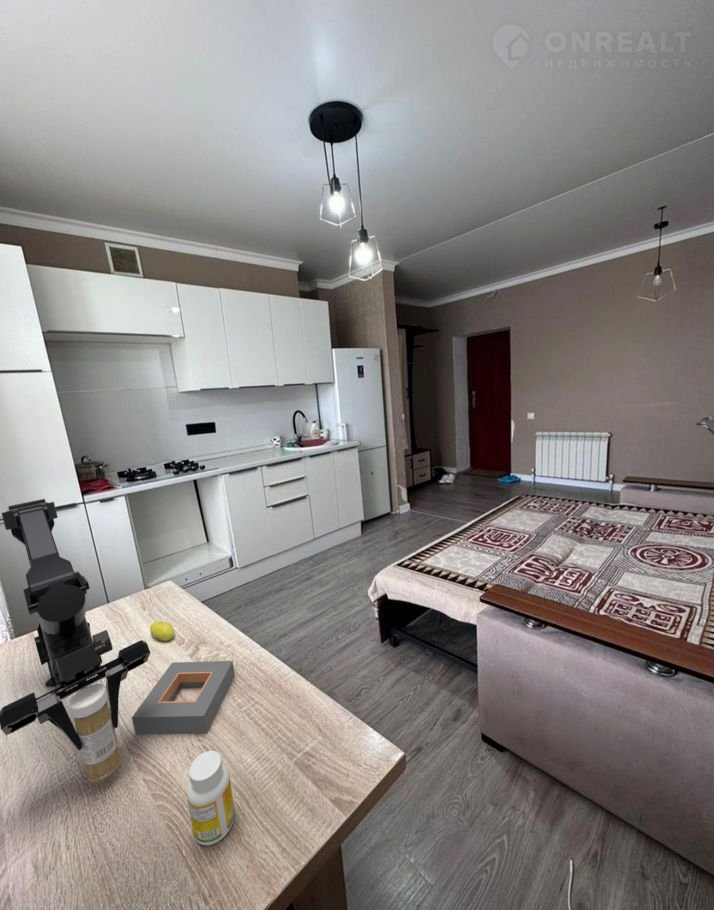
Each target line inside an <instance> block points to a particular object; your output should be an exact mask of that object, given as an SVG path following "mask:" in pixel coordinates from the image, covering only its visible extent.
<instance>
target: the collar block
mask: <svg viewBox="0 0 714 910" xmlns="http://www.w3.org/2000/svg"><path fill="white" fill-rule="evenodd" d="M235 676H236V673H235V667H234V662H233V660H216V661H214V660H213V661H212V660H211V661H209V660H208V661H178V662H177V661H176V662H174V661H173V662H171V664H170V665H169V666H168V668H167V669H166V670H165V672H164V673H163V674H162V676H161V677H160V678H159V680H158V681H156V682H157V683H156V684H155V685H154V687H153V688H152V689H151V690H150V692H149V693H148V695H147V696H146V697H145V699H144V700H143V702H142V703H141V704H140V705H139V706H138V708H137V710H136V711H135V712H134V714H133V715H132V716H131V719H132V725H133V728H134V735H159V734H160V735H163V734H166V735H168V734H169V735H170V734H171V735H172V734H175V735H176V734H177V735H178V734H208V732H209V729H210V727H211V725H212V723H213V721H214V719H215V717H216V715H217V713H218V711H219V709H220V708H221V705H222V703H223V701H224V699H225V696H226V695H227V692H228V691H229V689H230V687H231V685H232V683H233V681H234V679H233V678H235ZM185 688H186V689H187V688H189V689H190V688H193V689H194V688H201V689H200V691H199V692H198V694H197V696H196V697H195V700H174V699H175V698H176V697H177V695H178V693H179V692H180V690H181V689H185Z"/></svg>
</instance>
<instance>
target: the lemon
mask: <svg viewBox="0 0 714 910" xmlns="http://www.w3.org/2000/svg"><path fill="white" fill-rule="evenodd" d="M149 630H150V634H151V636H152V637H154V638H156V639H158V640H162V641H164V642H165V641H167V642H168V641H170V640H172V638H173V637H174V635H175V630H174V626H173V624H172V623H170V622H168V621H163V620H156V621H154V622H152V623H151V624H150V627H149Z"/></svg>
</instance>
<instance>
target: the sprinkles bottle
mask: <svg viewBox="0 0 714 910" xmlns="http://www.w3.org/2000/svg"><path fill="white" fill-rule="evenodd" d="M68 707H69V711H70V716H71V717H72V718H73V721H74V724H75V725H74V726H75V730H76V732H77V735H78V737H79V740H80V743H81V747H82V749H81V750H80V752H81V755H82V760H83V762H84V765H85V770H86V777H87V780H88V781H89V782H91V783H97V782H101V781H104V780H106V779H108V778H109V777H111V776H112V775H113V774H114V773H115V771H117V770H118V768H119V767H120V764H121V763H122V754H120V749H119V746H118V738H117V733H116V729H115V728H114V725H113V722H112V718H111V713H110V708H109V702H108V694H107V690H106V685H104V684H102V683H93V684H91V685H89V686H87V687H85V688H83V689H81V690H79V691H78V692H76V693H74V695H73V697H71V698H70V700H69V704H68Z"/></svg>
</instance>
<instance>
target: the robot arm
mask: <svg viewBox="0 0 714 910" xmlns="http://www.w3.org/2000/svg"><path fill="white" fill-rule="evenodd" d="M45 499H46V498H42V499H37V500H31V501H28V502H22V503H16V504H13V505H8V506H7V507H8V508H7V509H8V510H6V511H4V512H1V517H2V521H3V524H4V528H5V531H9V530H10V532H11V536H12V537H13V538H14V539H15V540H17V541H18V542H20V543H21V544H22V545H24V547H25V551H26V554H27V557H28V558H27V559H28V561H29V566H30V568H29V569H28V571H27V572H26V574H25V579H26V582H27V586H28V587H27V588H24V589H22V590H23V595H24V599H25V603H26V605H27V611H28V613H29V615H32V614H35V613H37V615H38V619H39V620H38V623H37V625H36V631H37V632H36V633H37V635H38V636H35V637H33V639H34V643H35V647H36V650H37V654H38V657H39V662H40V665H41V666H43V665H45V664H47V667H48V671H49V676H50V678H49V679H48V680H47V681H45V683H44V686H45V687H56V688H54V689H52V690H50V691H48V692H46V693H44V694H42V695H39V696H38V697H36V694H35V692H31V693H29V694H27V695H25V696H23V697H21V698H18V699H17V700H14V701H12V702H11V703H8V704H7V705H4V706H3V707H2V708H0V730H1V731H2V732H3V734H5V736H8V735H10V734H13V733H15V732H17V731H19V730H20V729H23V728H24V727H26V726H28V725H31V724H32V723H34V722H35V721H36V720H37V721H38V723H39V724H40V725H43V724H44V723H46V722H50V723H51V724H52V725H54V726H55V727H57V729H59V730H60V731H61V732H62V733H63V734H64V735H65V736H66V738H67V739H68V740H69V741H70V742H71V744H73V746H74V747H75V749H77V751H79V752H81V749H82V747H81V743H80V740H79V737H78V735H77V729H76V727H74V726H75V725H74V724H73V722H72V719H70V716H69V714H68V712H67V710H66V708H65V706H64V702H63V701H62V700H64V699H65V698H68V697H70V696H72V695H73V694H74V695H75V694H76V693H78V692H79V691H80V690H82V689H84V688H86V687H88V686H90V685H94V684H96V683H97V682H99V681H101V680H102V679H104V678H105V680H106V683H105V687H106V690H107V694H108V706H109V709H110V714H111V718H112V722H113V725H114V728H115V730H116V729H117V728H119V695H120V687H121V682H122V681H124V680H126V679H127V677H128V673H129V672H130V671H132V670H135V669H136V668H138V667H141V666H142V665H144V664H145V663H147V662H148V660H149V659H150V655H151V651H150V647H149V645H148V643H147V641H144V640H139V641H137V642H134V643H131V644H130V645H128V646H126V647H124V648H122V649H120V650H118V655H117V658H115V659H113V660H111V661H109V662H107V663H105V664H103V660H102V655H105V654H106V653H108V652H111V651H112V650H114V649H113V645H112V640H111V637H110V635H109V632H108V630H107V629H105V630H103V631H100V632H97V633H96V634H94V635H92V634H91V623H90V622H88V620H87V618H86V615H87V614H86V613H87V612H86V609H87V607H86V606H87V604H86V603H87V601H86V595H87V592H88V590H90V584H89V581H88V579H86V577H85V575H83V574H81V573H80V571H74V567H73V566H72V563H71V561H70V560H68V559H66V558H63V557H62V556H60V554H59V551H58V547H57V545H56V544H57V543H56V541H55V539H54V536H53V535H54V534H53V532H52V531H53V529H54V526H55V519H58V518H59V517H58V513H57V509H56V506H55V501H51V502H48V501H46V500H45ZM102 664H103V665H102Z"/></svg>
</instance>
